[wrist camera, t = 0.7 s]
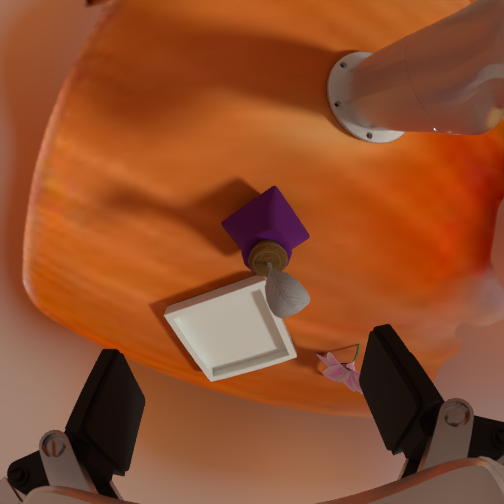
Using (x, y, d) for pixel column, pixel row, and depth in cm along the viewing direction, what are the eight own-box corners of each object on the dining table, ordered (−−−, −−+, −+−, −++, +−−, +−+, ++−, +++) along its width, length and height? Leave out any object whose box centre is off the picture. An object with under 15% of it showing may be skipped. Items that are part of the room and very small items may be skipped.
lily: (324, 318, 42) (310, 370, 35) (392, 331, 38) (388, 384, 32) (315, 353, 50) (302, 397, 43) (372, 364, 46) (365, 409, 39)
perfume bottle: (222, 215, 34) (205, 290, 17) (271, 180, 32) (306, 222, 16) (256, 260, 36) (270, 357, 20) (304, 228, 35) (357, 306, 18)
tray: (263, 272, 37) (264, 280, 35) (294, 347, 43) (297, 357, 40) (167, 306, 38) (163, 315, 36) (211, 372, 44) (210, 381, 42)
